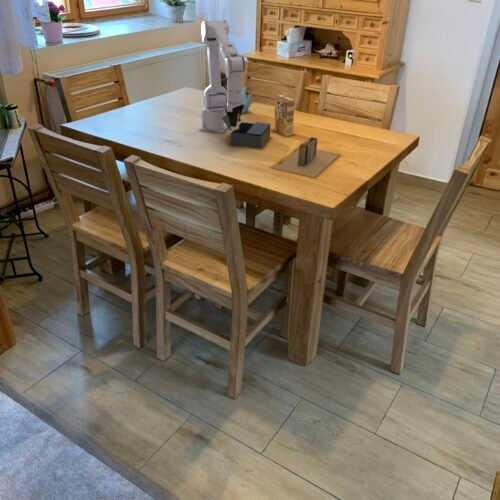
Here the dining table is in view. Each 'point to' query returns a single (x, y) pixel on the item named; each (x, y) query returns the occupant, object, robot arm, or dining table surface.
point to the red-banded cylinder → (236, 125)
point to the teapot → (245, 100)
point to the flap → (227, 121)
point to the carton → (251, 134)
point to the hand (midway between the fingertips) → (234, 124)
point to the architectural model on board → (307, 159)
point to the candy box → (284, 115)
